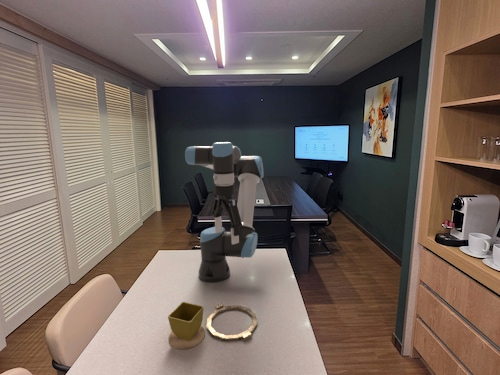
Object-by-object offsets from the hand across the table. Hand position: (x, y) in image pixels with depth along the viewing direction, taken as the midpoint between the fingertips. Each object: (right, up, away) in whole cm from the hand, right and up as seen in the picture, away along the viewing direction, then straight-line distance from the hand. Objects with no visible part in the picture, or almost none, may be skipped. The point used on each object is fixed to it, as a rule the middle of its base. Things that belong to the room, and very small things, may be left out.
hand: (226, 237), depth 110 cm
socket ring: (+3, -30, -7) cm, 31 cm away
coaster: (-12, -31, -13) cm, 36 cm away
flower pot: (-12, -31, -13) cm, 36 cm away
